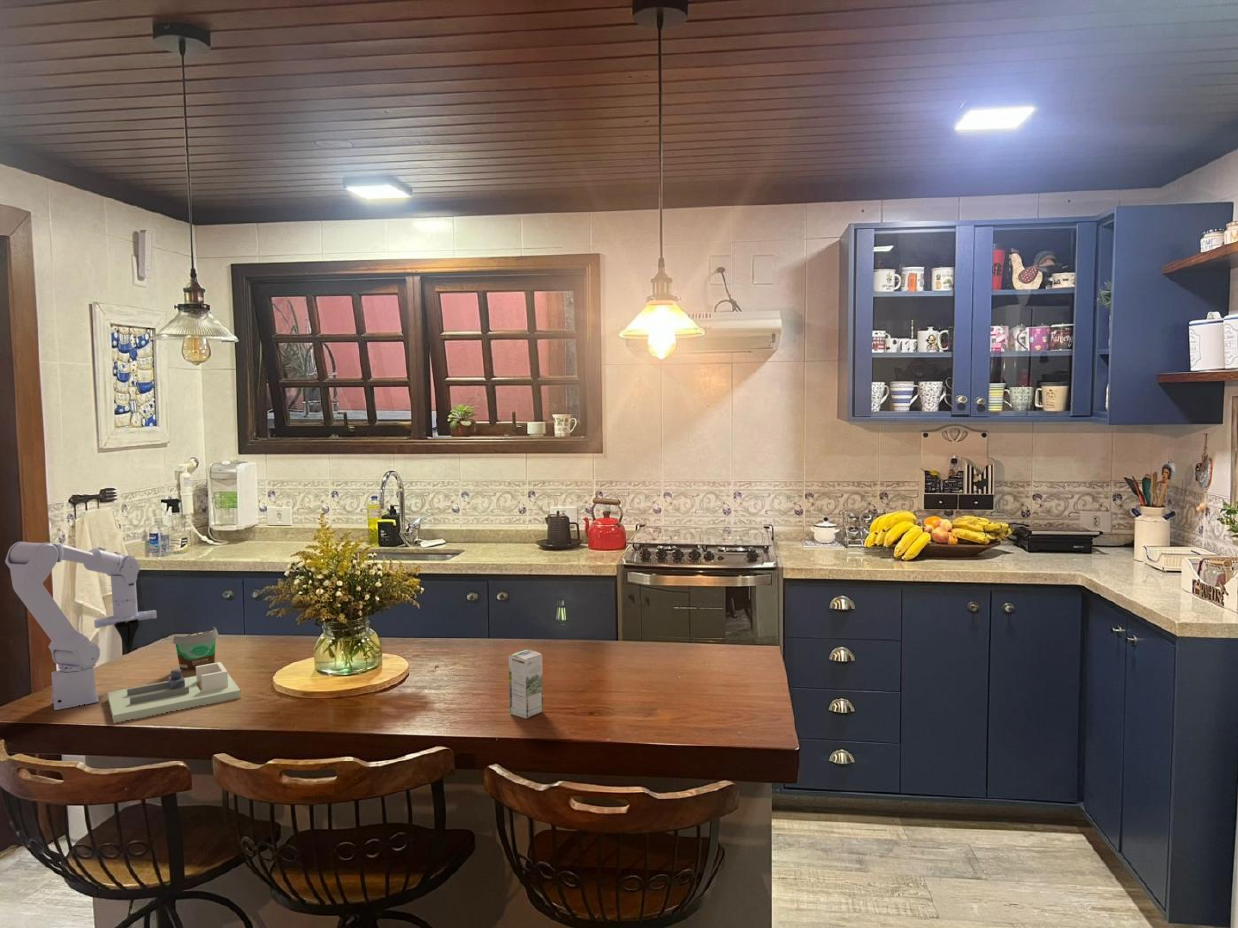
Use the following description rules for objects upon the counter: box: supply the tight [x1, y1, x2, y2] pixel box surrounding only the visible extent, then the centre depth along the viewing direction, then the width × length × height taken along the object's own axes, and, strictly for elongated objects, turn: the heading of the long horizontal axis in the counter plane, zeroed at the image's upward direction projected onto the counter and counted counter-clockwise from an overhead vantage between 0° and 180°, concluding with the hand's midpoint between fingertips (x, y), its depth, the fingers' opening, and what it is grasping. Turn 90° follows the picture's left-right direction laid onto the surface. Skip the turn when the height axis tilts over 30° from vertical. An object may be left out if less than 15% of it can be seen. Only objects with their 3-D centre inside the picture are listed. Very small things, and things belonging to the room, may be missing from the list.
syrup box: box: [508, 649, 544, 720], centre depth 201 cm, size 6×6×14 cm
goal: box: [195, 661, 229, 691], centre depth 222 cm, size 6×10×4 cm, turn 34°
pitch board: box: [107, 671, 242, 724], centre depth 217 cm, size 28×20×4 cm
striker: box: [167, 668, 185, 690], centre depth 217 cm, size 3×6×5 cm, turn 35°
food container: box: [172, 626, 219, 671], centre depth 243 cm, size 12×6×10 cm, turn 143°
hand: (128, 648), depth 230 cm, fingers closed
